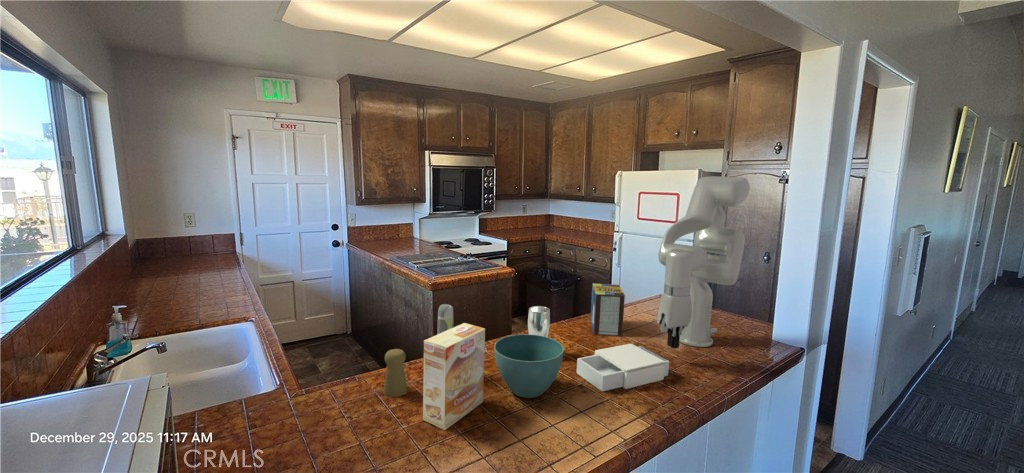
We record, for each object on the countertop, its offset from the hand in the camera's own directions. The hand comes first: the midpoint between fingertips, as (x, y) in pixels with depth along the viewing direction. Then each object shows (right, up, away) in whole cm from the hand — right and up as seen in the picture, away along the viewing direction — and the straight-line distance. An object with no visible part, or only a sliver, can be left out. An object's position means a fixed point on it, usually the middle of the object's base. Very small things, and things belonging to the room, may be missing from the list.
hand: (672, 346), depth 134 cm
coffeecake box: (-64, -8, -30) cm, 71 cm away
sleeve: (-16, -6, -8) cm, 19 cm away
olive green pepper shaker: (-81, -6, -22) cm, 84 cm away
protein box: (-15, -1, +29) cm, 33 cm away
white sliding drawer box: (-18, -6, -9) cm, 21 cm away
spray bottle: (-69, -5, -11) cm, 70 cm away
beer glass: (-42, -4, +4) cm, 42 cm away
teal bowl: (-46, -7, -19) cm, 50 cm away
